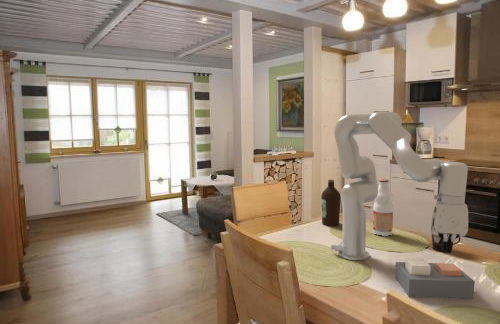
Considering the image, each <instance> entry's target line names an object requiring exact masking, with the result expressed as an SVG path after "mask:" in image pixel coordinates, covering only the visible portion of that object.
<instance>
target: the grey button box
mask: <svg viewBox="0 0 500 324" xmlns="http://www.w3.org/2000/svg"><path fill="white" fill-rule="evenodd" d="M405 262H406V261H405ZM405 262H403V261H401V262H400V261H396V262H395V277H394V278H395V280H396V281H397V282H398V284H399V286H400V287H401V288H402V289H403V291H404V292H405V294H406V295H407V297H409V298H428V299H429V298H431V299H457V300H458V299H459V300H474V296H475V295H474V294H475V280H474V279H473V278H471V277H470V276H469V275H468V274H466V273H465V271H464V270H462V269H461V268H459V269H460V270H462V276H442V275H441V274H440V273H439V272H438V271H437V270H436V269H435V263H436V262H427V263H428V264H429V265H430V275H410V273H409V272H408V271H407V270H406V268H405Z"/></svg>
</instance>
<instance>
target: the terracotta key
mask: <svg viewBox="0 0 500 324" xmlns="http://www.w3.org/2000/svg"><path fill="white" fill-rule="evenodd" d="M434 263H435V269H436V270H437V271H438V272H439V273H440V274H441V275H442V276H462V271H463V270H462V269H461V268H459V267H458V266H457V265H456V264H455V263H452V262H451V263H450V262H449V263H447V262H445V263H443V262H434ZM460 269H461V270H460Z"/></svg>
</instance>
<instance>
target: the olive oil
mask: <svg viewBox="0 0 500 324" xmlns="http://www.w3.org/2000/svg"><path fill="white" fill-rule="evenodd" d="M327 180H328V182H327V187H326V188H325V189H324V190H322V193H321V195H320V196H321V199H320V200H321V224H322V225H324V226H328V227H337V226H339V225H340V215H341V214H340V213H341V203H342V201H341V192H340V191H339V190H338V189H337V188H336V187H335V180H334V179H327Z"/></svg>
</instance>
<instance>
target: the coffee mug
mask: <svg viewBox="0 0 500 324" xmlns="http://www.w3.org/2000/svg"><path fill="white" fill-rule="evenodd" d="M431 230H432V227H431V226H430V231H431ZM447 238H448V234H447ZM457 239H458V241H455V242H453V246H454V245H456V244H459V243H460V242H461V237H458V238H457ZM431 240H432V241H431V242H432V244H431V245H432V250H434V251H436V252H440V253H445V252H444V251H443V250H442V249H441V243H442V239H441V238H440V237H439V236H437V235H433V234H432V233H431Z"/></svg>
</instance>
